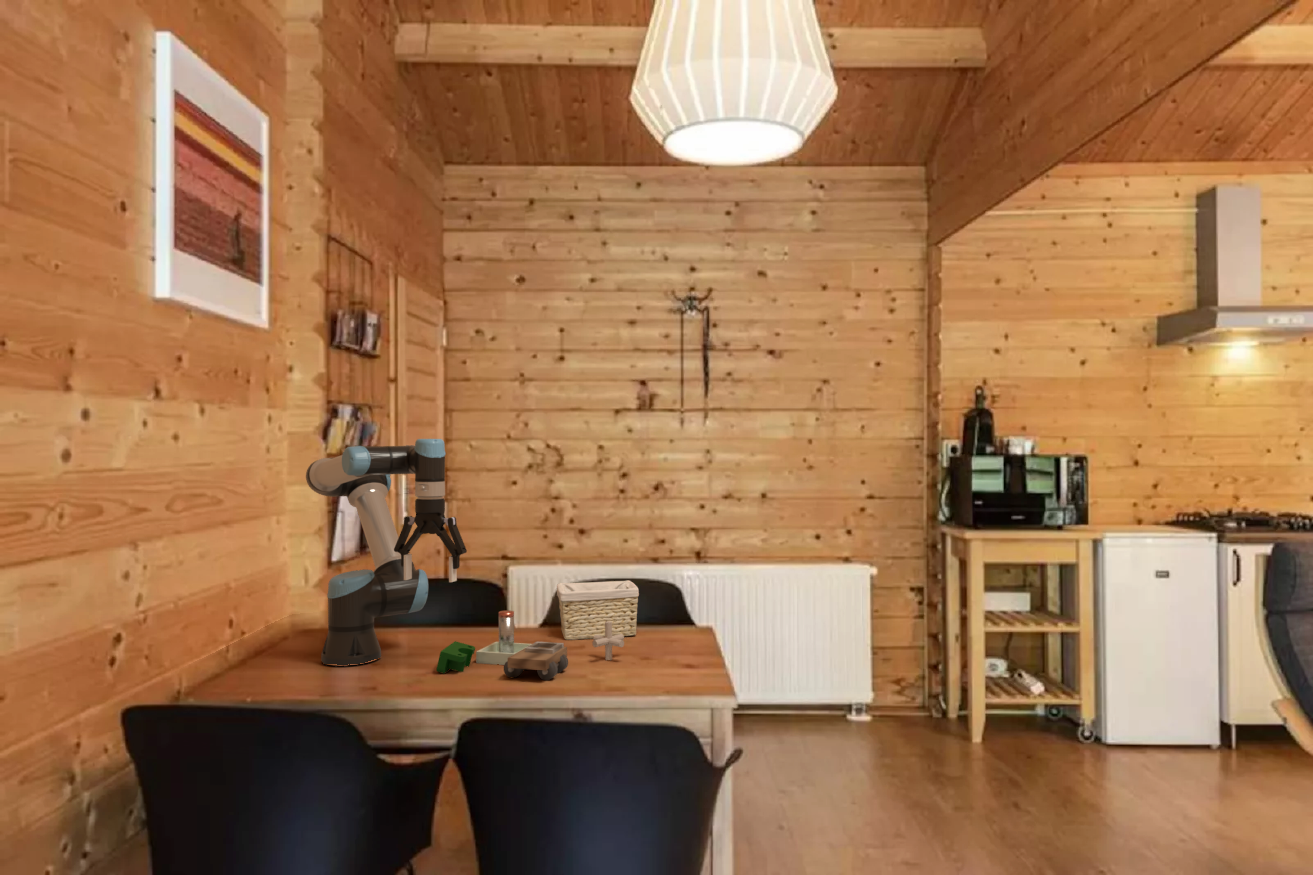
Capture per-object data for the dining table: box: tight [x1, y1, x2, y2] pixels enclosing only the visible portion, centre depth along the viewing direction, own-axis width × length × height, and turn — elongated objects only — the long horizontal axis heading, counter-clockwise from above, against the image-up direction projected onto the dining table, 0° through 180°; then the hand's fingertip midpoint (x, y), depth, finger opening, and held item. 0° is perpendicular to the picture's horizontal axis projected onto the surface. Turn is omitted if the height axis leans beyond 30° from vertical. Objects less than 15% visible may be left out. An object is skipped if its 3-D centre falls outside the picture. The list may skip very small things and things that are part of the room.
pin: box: [498, 610, 515, 653], centre depth 231 cm, size 4×4×12 cm
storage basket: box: [556, 579, 640, 641], centre depth 261 cm, size 24×16×15 cm
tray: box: [475, 641, 533, 666], centre depth 231 cm, size 12×12×3 cm
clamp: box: [436, 640, 476, 674], centre depth 221 cm, size 12×6×9 cm, turn 169°
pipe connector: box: [592, 621, 625, 661], centre depth 229 cm, size 10×10×10 cm
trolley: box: [503, 641, 569, 681], centre depth 215 cm, size 13×14×6 cm
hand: (430, 580), depth 224 cm, fingers open, 12 cm apart
